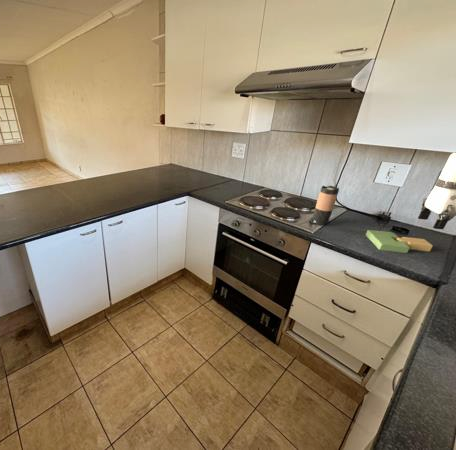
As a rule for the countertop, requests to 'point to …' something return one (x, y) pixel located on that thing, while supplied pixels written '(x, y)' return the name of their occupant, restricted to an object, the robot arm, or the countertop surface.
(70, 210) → the countertop surface
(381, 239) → the green pad
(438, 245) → the countertop surface
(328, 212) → the travel mug
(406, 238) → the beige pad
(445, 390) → the countertop surface
